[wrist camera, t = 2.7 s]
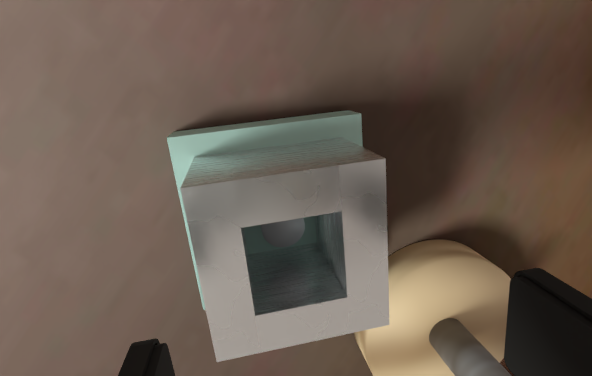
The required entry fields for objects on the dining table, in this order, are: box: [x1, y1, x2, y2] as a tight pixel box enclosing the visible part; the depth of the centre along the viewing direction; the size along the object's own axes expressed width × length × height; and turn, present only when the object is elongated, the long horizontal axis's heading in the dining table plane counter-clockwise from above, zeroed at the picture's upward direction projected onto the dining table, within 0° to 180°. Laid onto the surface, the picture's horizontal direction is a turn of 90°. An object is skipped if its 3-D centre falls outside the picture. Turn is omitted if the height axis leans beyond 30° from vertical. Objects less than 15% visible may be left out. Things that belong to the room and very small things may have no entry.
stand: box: [167, 110, 363, 310], centre depth 18 cm, size 9×9×4 cm
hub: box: [354, 239, 512, 376], centre depth 20 cm, size 10×10×7 cm
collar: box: [180, 137, 390, 362], centre depth 15 cm, size 7×7×5 cm
